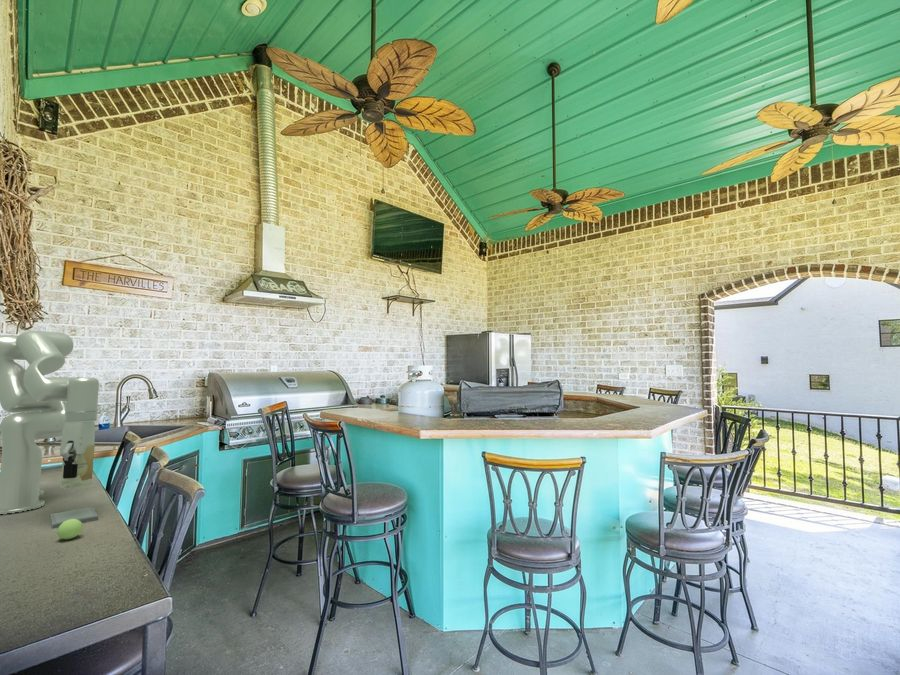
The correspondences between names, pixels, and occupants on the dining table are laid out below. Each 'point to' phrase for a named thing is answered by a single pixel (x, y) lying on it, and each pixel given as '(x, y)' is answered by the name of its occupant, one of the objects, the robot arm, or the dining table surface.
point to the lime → (69, 529)
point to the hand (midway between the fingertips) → (77, 474)
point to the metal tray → (73, 516)
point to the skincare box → (81, 470)
